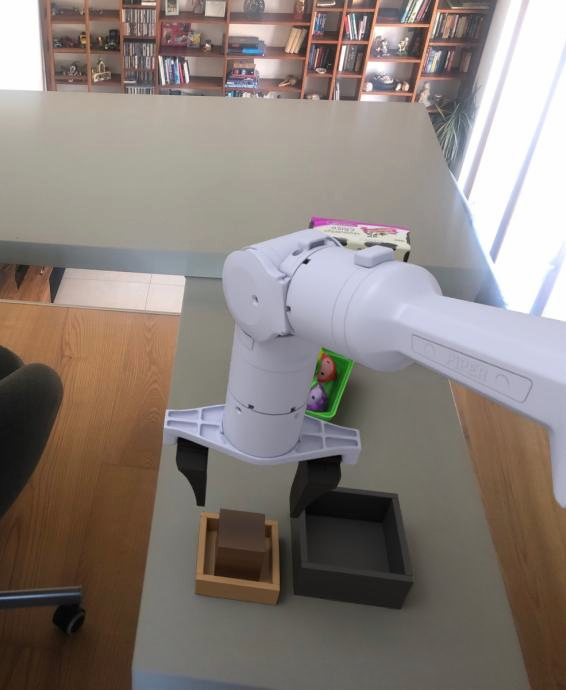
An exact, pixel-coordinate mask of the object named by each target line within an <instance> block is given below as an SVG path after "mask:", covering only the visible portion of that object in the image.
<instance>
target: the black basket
mask: <svg viewBox="0 0 566 690" xmlns="http://www.w3.org/2000/svg"><path fill="white" fill-rule="evenodd" d="M402 514H403V513H402V509H401V503H400V499H399V494H398V493H395V492H387V491H386V492H385V491H380V490H379V491H378V490H371V489H361V488H352V487H343V486H337V488H336V489H333V490H330V491H328V492H325V493H323V494H322V495H320V496H318V497H317V498H316V499H314V500H313V501H312V502H311V503H310V504H309V505H308V506H307V507H306V508H305V510H304V511H303V512H302V513H301V515H300V516H299V518H290V517H289V518H290V519H289V521H290V544H291V545H290V546H291V568H292V569H291V570H292V571H291V573H292V594H293V596H300V597H308V598H314V599H315V598H316V599H322V600H323V599H324V600H330V601H337V602H344V603H352V604H357V605H358V604H359V605H365V606H374V607H381V608H388V609H394V610H401V609H402V607H403V606H404V603H405V601H406V599H407V598H408V595H409V593H410V591H411V589H412V587H413V585H414V584H415V579H414V574H413V569H412V563H411V559H410V553H409V547H408V542H407V536H406V531H405V526H404V520H403V515H402Z"/></svg>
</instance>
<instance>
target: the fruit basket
mask: <svg viewBox="0 0 566 690" xmlns="http://www.w3.org/2000/svg"><path fill="white" fill-rule="evenodd" d="M355 363H356V362H355V361H352V360H350V359H348V358H346V357H344V356H341V355H339V354H337V353H334V352H332V351H330V350H327V349H325V348H323V347H321V348H320V352H319V356H318V360H317V364H316V369H315V373H314V377H313V381H312V385H311V389H310V394H309V398H308V402H307V407H306V411H305V414H306V415H309V416H312V417H314V418H317V419H320V420H323V421H326V422H329V421H331V420H332V419H334V417H335V416H336V413H337V411H338V407H339V404H340V402H341V399H342V396H343V394H344V391H345V389H346V385H347V383H348V381H349V378H350V375H351V373H352V369H353V367H354V365H355Z"/></svg>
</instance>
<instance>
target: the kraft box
mask: <svg viewBox="0 0 566 690" xmlns="http://www.w3.org/2000/svg"><path fill="white" fill-rule="evenodd" d="M218 520H219V513H216V512H208V511H201V512H200V519H199V527H198V528H199V529H198V542H197V555H196V568H195V580H194V592H193V593H194V594H195V595H199V596H207V597H213V598H214V597H215V598H220V599H221V598H222V599H227V600H236V601H243V602H251V603H257V604H264V605H271V606H277V604H278V599H279V597H280V591H281V585H280V584H281V579H280V573H281V572H280V537H279V535H280V534H279V521H278V520H273V519H272V520H271V519H265V556H264V561H263V565H262V569H261V574H260V578H259V582H256V581H249V580H242V579H234V578H227V577H219V576H214V561H215V543H216V534H217V527H218Z"/></svg>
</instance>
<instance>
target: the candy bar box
mask: <svg viewBox="0 0 566 690" xmlns="http://www.w3.org/2000/svg"><path fill="white" fill-rule="evenodd" d="M307 229H316V230H319V231H321V232H323V233H324V234H328V235H330V236H332V237H334V238H335V239H336V240H337V241H338V242H339V243H340V244H341V245H342V246H343V248H347V249H351V250H355V251H359V250H362V249H366V248H369V247H372V246H375V245H379V246H383V247H388V248H392V249H393V251H394V260H397V261H401V262H406V263H408V261H409V258H410V253H411V250H412V248H411V240H410V239H411V237H410V233H411V228H410V227H404V226H403V227H402V226H393V225H388V224H379V223H372V222H371V223H369V222H363V221H362V222H361V221H353V220H343V219H335V218H327V217H319V216H310V219H309V224H308V228H307Z"/></svg>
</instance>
